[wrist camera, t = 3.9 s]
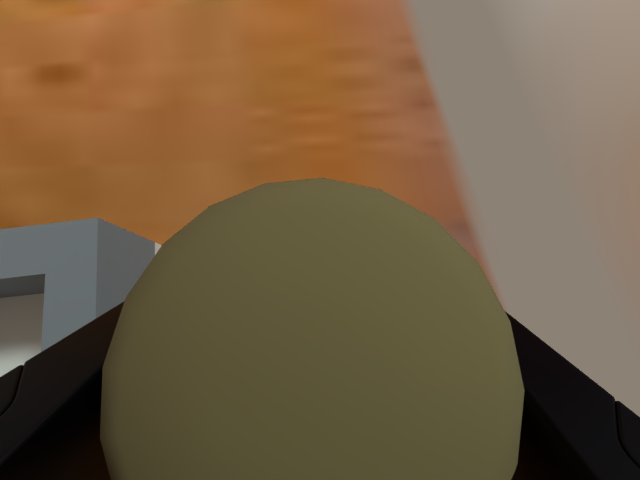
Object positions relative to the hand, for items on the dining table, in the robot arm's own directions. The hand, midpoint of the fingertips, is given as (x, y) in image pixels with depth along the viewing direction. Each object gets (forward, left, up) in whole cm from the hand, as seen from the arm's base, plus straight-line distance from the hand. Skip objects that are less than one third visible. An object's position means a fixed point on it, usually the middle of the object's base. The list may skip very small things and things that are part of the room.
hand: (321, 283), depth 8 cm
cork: (-1, 0, -7) cm, 7 cm away
